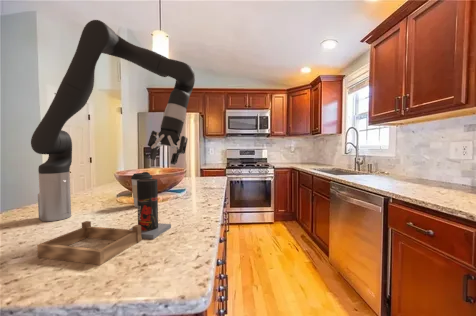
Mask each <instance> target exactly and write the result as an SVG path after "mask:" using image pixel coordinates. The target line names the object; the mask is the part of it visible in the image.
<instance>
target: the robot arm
mask: <svg viewBox="0 0 476 316" xmlns="http://www.w3.org/2000/svg"><path fill="white" fill-rule="evenodd" d="M102 54H103V55H105V54H106V55H107V56H112V57H116V58H120V59H123V60H125V61H127V62H130V63H132V64H135V65H137V66H139V67H140V68H143V69H144V70H147V71H148V72H151V73H153V74H156V75H158V76H159V77H161V78H167V77H170V78H172V79H174V80H175V84H174V87H173V90H171V92H170V93H169V97H168V99H167V100H168V101H167V105H166V107H165V109H164V111H163V112H164V113H163V116H162V121H161V124H160V130H159V132H158V131H155V130H151V132H150V135H149V140H148V141H147V146H148V147H149V148H151V149H150V150H151V151H150V153H149V158H150V160H152V161H155V160H156V158H157V155H158V150H159V149H160V148H162V147H163V146H166V147H167V146H168V147H170V148H171V149H172V151H173V153H172V156H171V159H170V164H171V165H176V164H177V163H178V160H179V156H180V155H181V154H182V155H183V154H186V150H187V145H188V137H186V136H184V135H182V136H181V134H182V132H183V128H184V123H185V120H186V115H187V110H188V107H189V103H190V96H191V95H192V92H193V89H194V86H195V81H196V80H195V79H196V78H195V76H196V75H195V70H194V69H193V67H192V66H191V65H189V64H188V63H186V62H184V61H181V60H176V59H173V58H168V57H166V56H164V55H162V54H160V53H158V52H156V51H153V50H151V49H148V48H146V47H145V48H144V47H140V46H138V45H136V44H133V43H131V42H129V41H127V40H126V39H124V38H122V37H121V36H120V35H118V34H117V33H116V32H115V31H114V30H113V28H111V27H109V26H108V24H107V23H105V22H104V21H101V20H99V19H92V20H90V21H88V22H87V23H86V24H85V26H84V27H83V28H82V31H81V35H80V37H79V40H78V44H77V47H76V50H75V52H74V55H73V57H72V59H71V60H70V61H71V62H70V64H69V66H68V68H67V70H66V72H65V74H64V77H63V78H62V80H61V82H60V84H59V86H58V89H57V90H56V93H55V96H54V98H53V99H52V101H51V103H50V105H49V107H48V109H47V111H46V112H45V114H44V116H43V117H42V119H41V120H40V122H39V124H38V125H37V127H36V128H35V130H34V132H32V135H31V138H30V145H31V149H32V150H33V151H34V152H35V153H36V154H39V155H48V158H47V160H45V162H43V163H42V164H40V165H38V169H37V170H38V171H37V172H38V188H39V189H38V190H39V193H38V194H37V207H38V209H37V211H38V220H40V221H41V222H55V221H60V220H65V219H68V218H71V217H72V199H71V198H72V197H71V196H72V195H71V194H72V193H71V177H70V176H71V175H70V170H71V165H72V163H73V162H72V161H73V141H72V138H71V136H70V134H69V132H67V131H65V130H62V129H63V128H64V126H65V125H66V123H67V121H69V119H71V118H72V117H73V116H75V115H77V113H78V112H80V110H83V108H84V107H85V106H86V104H87V103H88V101H89V98H90V96H91V94H92V92H93V90H94V86H95V70H96V66H97V62H98V61H99V59H100V58H101V55H102ZM178 143H179V144H178Z"/></svg>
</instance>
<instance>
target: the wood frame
mask: <svg viewBox="0 0 476 316" xmlns="http://www.w3.org/2000/svg"><path fill="white" fill-rule="evenodd" d="M84 239H97V240H99V239H100V240H108V241H113V242H111V243H110V244H108V245H106V246H104V247H102V248H99V249H98V248H89V247H80V246H71V245H72V244H76V243H78V242H80V241H82V240H84ZM142 241H143V240H142V238H141V225H138V224H135V225H133V226H132V230H129V228H128V229H125V228H114V227H113V228H112V227H102V226H100V227H99V226H92V223H91V221H89V220H87V221H83V222H81V227H80V228H78V229H76V230H72V231H71V232H67V233H64V234H63V235H59V236H57V237H54V238H52V239H48V240H47V241H46V240H45V241H43V242H40V243H39V244H36V245H37V258H42V259H51V260H58V261H66V262H67V261H68V262H75V263H82V264H90V265H99V266H101V265H103V264H105V263H106V262H109V261H110V260H112V259H113V258H114V257H116V256H118V255H120V254H121V253H123V252H124V251H126V250H127V249H129V248H130V247H133V246H134V245H135V244H138V243H140V242H142Z"/></svg>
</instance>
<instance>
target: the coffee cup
mask: <svg viewBox="0 0 476 316" xmlns="http://www.w3.org/2000/svg"><path fill="white" fill-rule="evenodd" d="M141 179H153V175H151V174H150V172H148V171H143V172H136V173H133V175H132V176H131V177H130V180H131V189H132V191H131V192H132V198H133V204H134V207H135V208H138V206H137V180H141Z"/></svg>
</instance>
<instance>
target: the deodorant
mask: <svg viewBox="0 0 476 316" xmlns="http://www.w3.org/2000/svg"><path fill="white" fill-rule="evenodd" d="M158 198H159V196H158V179H157V178H152V179H141V180H137V206H138V207H137V225H141V231H151V230H155V229H157V228H158V223H159V204H158V203H159V201H158V200H159V199H158Z"/></svg>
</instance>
